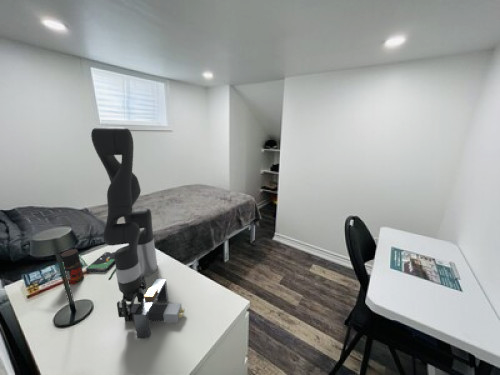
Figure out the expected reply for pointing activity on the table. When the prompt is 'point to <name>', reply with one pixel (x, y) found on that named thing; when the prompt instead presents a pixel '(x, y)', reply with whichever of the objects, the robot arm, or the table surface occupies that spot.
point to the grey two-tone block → (162, 312)
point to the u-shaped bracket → (149, 307)
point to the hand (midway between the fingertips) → (135, 310)
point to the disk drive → (102, 263)
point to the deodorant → (72, 266)
